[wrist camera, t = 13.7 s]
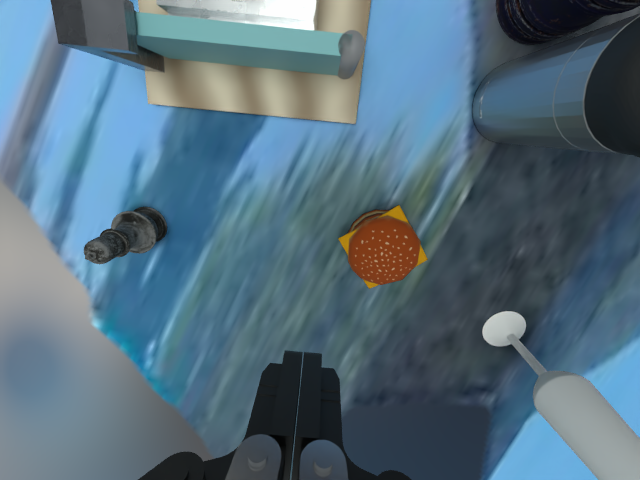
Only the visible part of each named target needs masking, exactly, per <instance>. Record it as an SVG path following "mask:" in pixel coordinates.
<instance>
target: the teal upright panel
mask: <svg viewBox="0 0 640 480" xmlns="http://www.w3.org/2000/svg"><path fill="white" fill-rule="evenodd" d="M134 16H135V26H136V36H137V45H139V46H142V47H144V48H146V49H148V50H151V51H153V52H155V53H158V54H160V55H162V56H164V57H167V58H170V59H180V60H190V61H199V62H209V63H219V64H229V65H238V66H248V67H258V68H268V69H278V70H287V71H297V72H307V73H317V74H326V75H336V76H338V77H339V78H341V79H348V78H350V77H351V76H352V75H353V73H354V71H355V69H356V67H357V65H358V63H359V61H360V58H361V56H362V54H363V52H364V49H365V41H364V38H363V36H362V35H361V34H360V33H359V32H358V31H355V30H349V31H346V32H345V33H334V32H325V31H315V30H305V29H296V28H286V27H277V26H267V25H257V24H248V23H238V22H228V21H219V20H209V19H200V18H190V17H180V16H171V15H161V14H151V13H142V12H134Z"/></svg>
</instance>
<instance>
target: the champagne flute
mask: <svg viewBox="0 0 640 480" xmlns="http://www.w3.org/2000/svg"><path fill="white" fill-rule="evenodd" d="M525 329H526V322H525V320H524V318H523V317H522V316H521V315H520V314H518V313H516V312H512V311H505V312H500V313H497V314H495V315H493V316H492V317H490V318H489V319H488V320H487V322H486V323H485V325H484V327H483V337H484V339H485V340H486V341H487V342H488V343H489V344H491V345H494V346H507V345H510V344H512V345H513V346H514V347H515V348H516V350H517V351H518V352H519V353H520V354H521V355H522V357H523V358H524V359H525V360H526V361H527V363H528V364H529V365H530V366H531V367H532V368H533V370H534V371H535V372H536V373H537V374H538V375H539V377H538V379H537V381H536V383H535V386H534V391H533V399H534V405H535V407H536V409H537V411H538V412H539V413H540V414H541V415H542V416H543V418H544V419H545V420H546V421H547V422H548V423H549V424H550V425H551V427H552V428H553V429H554V430H555V431H556V432H557V433H558V435H559V436H560V437H561V438H562V439H563V440H564V441H565V442H566V444H567V445H568V446H569V447H570V448H571V449H572V450H573V452H574V453H575V454H576V455H577V456H578V457H579V458H580V459H581V461H582V462H583V463H584V464H585V465H586V466H587V467H588V468H589V470H590V471H591V472H592V473H593V474H594V475H595V476H596V478H597V479H598V480H640V438H639V437H638V436H637V435H636V434H635V432H634V431H633V430H632V429H631V428H630V427H629V426H628V424H627V423H626V422H625V421H624V420H623V419H622V418H621V416H620V415H619V414H618V413H617V412H616V411H615V410H614V408H613V407H612V406H611V405H610V404H609V403H608V402H607V400H606V399H605V398H604V397H603V396H602V395H601V393H600V392H599V391H598V390H597V389H596V388H595V387H594V385H593V384H592V383H591V382H590V381H588V380H587V379H585V378H584V377H582V376H579V375H577V374H574V373H570V372H565V371H547V370H546V369H545V368H544V367H543V366H542V365H541V364H540V363H539V362H538V361H537V359H536V358H535V357H534V356H533V355H532V354H531V353H530V352H529V351H528V349H527V348H526V347H525V346H524V345H523V344H522V343H521V342H520V341H519V339H520V338H521V337H522V335H523V334H524V332H525Z"/></svg>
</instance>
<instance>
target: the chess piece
mask: <svg viewBox="0 0 640 480" xmlns="http://www.w3.org/2000/svg"><path fill="white" fill-rule="evenodd" d="M166 232H167V223H166V221H165V219H164V217H163V216H162V215H161V214H160V213H159V212H158V211H157V210H155V209H153V208H150V207H140V208H137V209H136V210H134V211H126V212H122V213H120V214H118V215H117V216H116V217H115V218H114V219H113V221H112V225H111V229H106V230H104V231H103V232H102V233H101V234H100V237H97V238H95V239H93V240H91V241H89V242H88V243H87V244H86V245H85V247H84V254H85V259H87V260H89V261H91V262H93V263H96V264H104V263H107V262H108V261H110V260H112V259H113V258H115V257H122V256H124V255H126V254H127V253H128V252H132V253H145V252H147V251H149V250H150V249H151V248H152V247H153V246H154V244H155V242H157V241H159V240H161V239H162V238H163V237H164V236H165V235H166Z"/></svg>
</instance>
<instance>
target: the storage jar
mask: <svg viewBox="0 0 640 480" xmlns="http://www.w3.org/2000/svg"><path fill="white" fill-rule="evenodd" d="M638 6H640V0H496V11H497V16H498V20H499V23H500V25H501V27H502V29H503V30H504V32H505V33H506V34H507V35H508V36H509V37H510V38H511V39H513V40H514V41H516V42H519V43H522V44H526V45H534V44H540V43H544V42H547V41H549V40H551V39H555V38H559V37H562V36H565V35H568V34H570V33H572V32H574V31H577V30H579V29H581V28H583V27H585V26H588V25H589V24H591V23H593V22H595V21H596V20H598V19H599V18H601V17H603V16H605V15H612V14H617V13H623V12H626V11H629V10H632V9H634V8H636V7H638Z"/></svg>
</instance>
